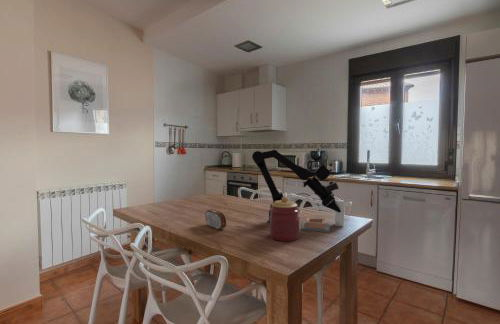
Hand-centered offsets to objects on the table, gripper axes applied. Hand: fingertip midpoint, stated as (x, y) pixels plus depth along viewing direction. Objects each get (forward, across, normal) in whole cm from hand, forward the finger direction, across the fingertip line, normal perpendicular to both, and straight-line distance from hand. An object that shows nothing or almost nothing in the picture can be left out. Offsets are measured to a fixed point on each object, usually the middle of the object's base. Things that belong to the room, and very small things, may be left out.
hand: (339, 209), depth 132 cm
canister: (-12, -26, +23) cm, 36 cm away
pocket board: (-3, -7, +14) cm, 16 cm away
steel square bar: (+5, 0, +6) cm, 8 cm away
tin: (-36, -20, +47) cm, 63 cm away
